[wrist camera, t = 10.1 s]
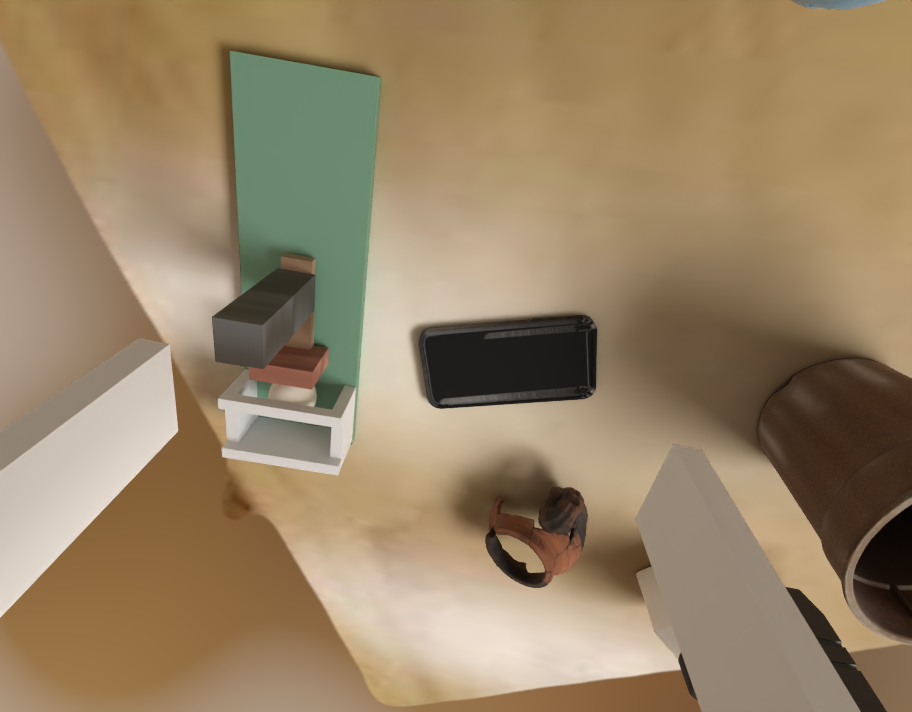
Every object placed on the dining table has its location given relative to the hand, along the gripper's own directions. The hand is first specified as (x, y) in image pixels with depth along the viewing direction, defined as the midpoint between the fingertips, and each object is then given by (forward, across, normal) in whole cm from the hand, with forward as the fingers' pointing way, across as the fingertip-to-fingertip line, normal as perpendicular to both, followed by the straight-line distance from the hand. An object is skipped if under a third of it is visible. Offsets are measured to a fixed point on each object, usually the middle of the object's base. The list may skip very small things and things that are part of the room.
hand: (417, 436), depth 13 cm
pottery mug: (+28, +14, -27) cm, 41 cm away
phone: (+28, +6, -12) cm, 31 cm away
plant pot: (+28, +35, -10) cm, 46 cm away
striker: (+26, -12, -10) cm, 30 cm away
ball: (+24, -12, -17) cm, 32 cm away
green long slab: (+28, -12, -8) cm, 31 cm away
